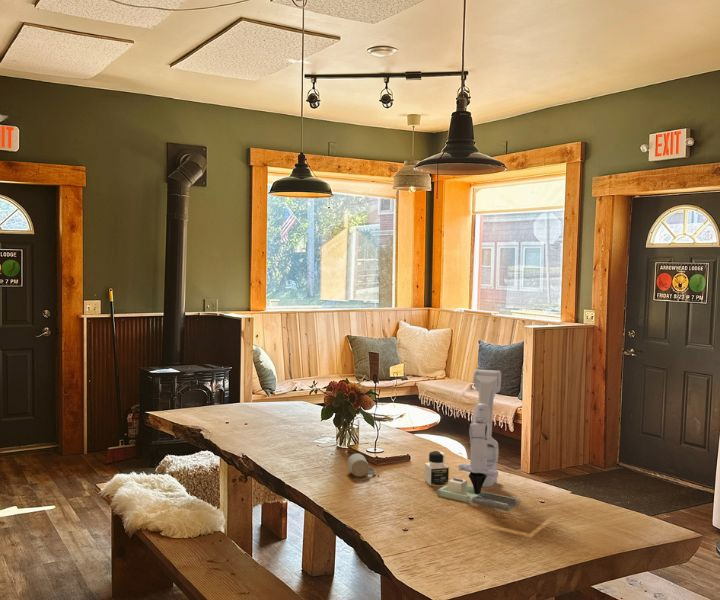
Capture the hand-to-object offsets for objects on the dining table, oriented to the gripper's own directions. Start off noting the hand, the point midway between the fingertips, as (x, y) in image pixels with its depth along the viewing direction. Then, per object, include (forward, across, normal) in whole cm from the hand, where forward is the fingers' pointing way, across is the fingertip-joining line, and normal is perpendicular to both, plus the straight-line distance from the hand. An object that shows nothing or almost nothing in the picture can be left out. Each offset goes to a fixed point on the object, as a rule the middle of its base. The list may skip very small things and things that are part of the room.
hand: (477, 493), depth 267 cm
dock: (+3, +6, 0) cm, 7 cm away
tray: (+3, -7, 0) cm, 8 cm away
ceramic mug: (+3, -50, 0) cm, 50 cm away
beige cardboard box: (+2, -8, 0) cm, 8 cm away
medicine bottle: (+3, -22, +9) cm, 23 cm away
